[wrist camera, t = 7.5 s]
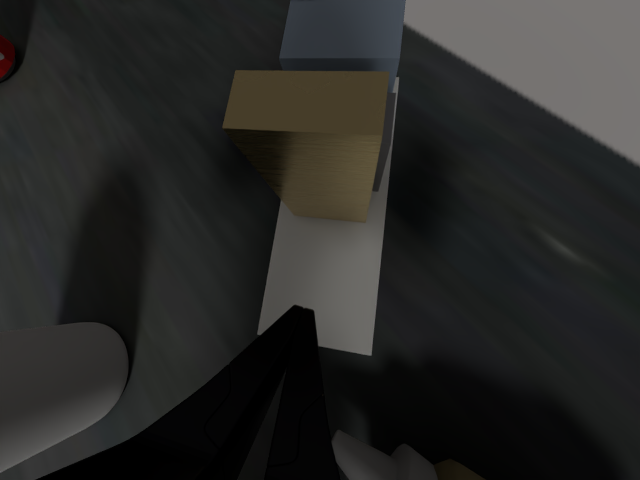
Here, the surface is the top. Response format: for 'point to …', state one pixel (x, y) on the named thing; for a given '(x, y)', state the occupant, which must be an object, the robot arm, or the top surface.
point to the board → (330, 271)
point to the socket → (343, 36)
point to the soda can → (6, 58)
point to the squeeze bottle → (392, 463)
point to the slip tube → (311, 136)
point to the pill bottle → (56, 384)
